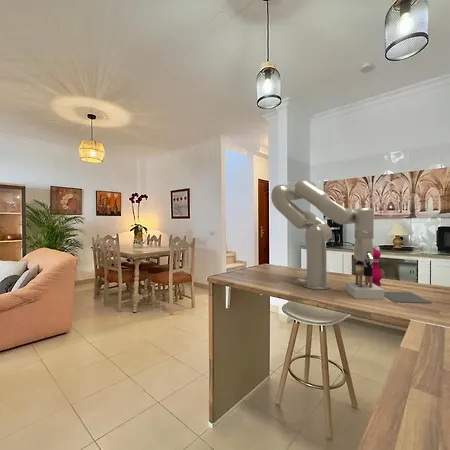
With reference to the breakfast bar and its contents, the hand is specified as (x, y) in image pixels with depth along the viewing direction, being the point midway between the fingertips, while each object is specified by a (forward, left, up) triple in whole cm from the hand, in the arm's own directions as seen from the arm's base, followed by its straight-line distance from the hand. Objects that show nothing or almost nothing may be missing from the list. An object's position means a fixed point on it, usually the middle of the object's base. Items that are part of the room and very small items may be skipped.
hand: (363, 273), depth 115 cm
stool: (0, 0, -6) cm, 6 cm away
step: (0, 0, -10) cm, 10 cm away
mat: (+15, -3, -10) cm, 18 cm away
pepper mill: (+12, +18, -10) cm, 24 cm away
